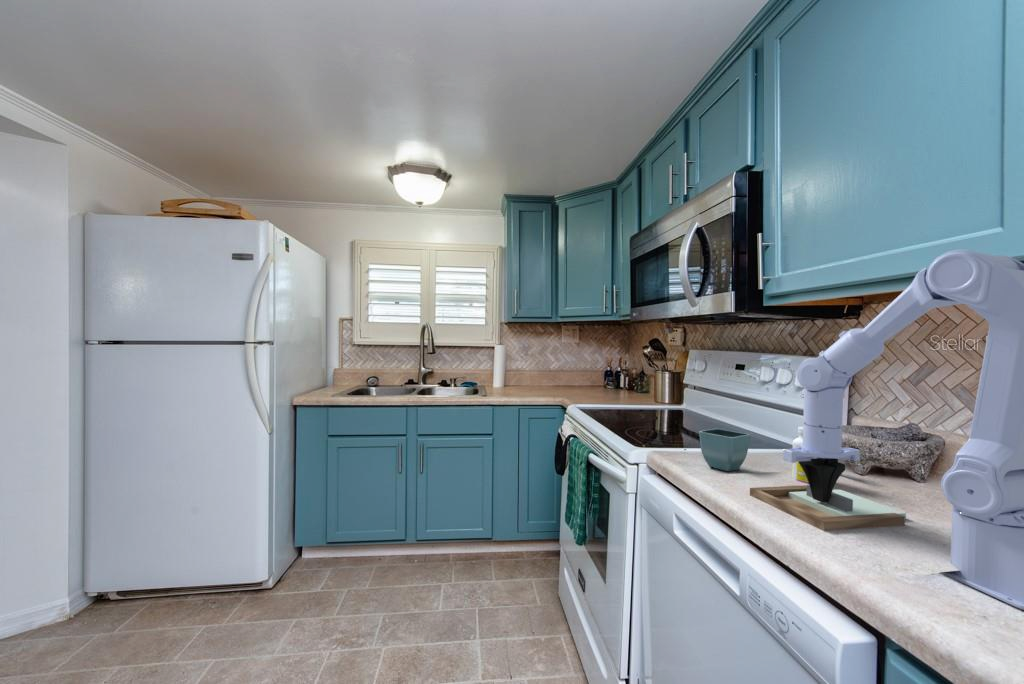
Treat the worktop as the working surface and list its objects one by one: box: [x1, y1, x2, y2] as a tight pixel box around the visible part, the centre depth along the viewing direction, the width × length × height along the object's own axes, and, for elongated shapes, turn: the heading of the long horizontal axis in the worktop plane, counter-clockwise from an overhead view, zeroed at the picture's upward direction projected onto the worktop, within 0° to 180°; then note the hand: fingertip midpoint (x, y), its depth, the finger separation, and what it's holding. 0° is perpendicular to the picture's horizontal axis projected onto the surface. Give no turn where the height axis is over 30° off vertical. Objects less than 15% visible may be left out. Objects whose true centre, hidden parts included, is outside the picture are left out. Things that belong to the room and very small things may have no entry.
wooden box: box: [749, 484, 906, 532], centre depth 77 cm, size 16×16×3 cm
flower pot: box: [698, 428, 751, 472], centre depth 108 cm, size 9×9×9 cm
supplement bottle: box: [791, 426, 809, 485], centre depth 95 cm, size 7×7×13 cm
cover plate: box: [789, 484, 907, 520], centre depth 78 cm, size 12×12×3 cm
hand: (820, 500), depth 77 cm, fingers closed
